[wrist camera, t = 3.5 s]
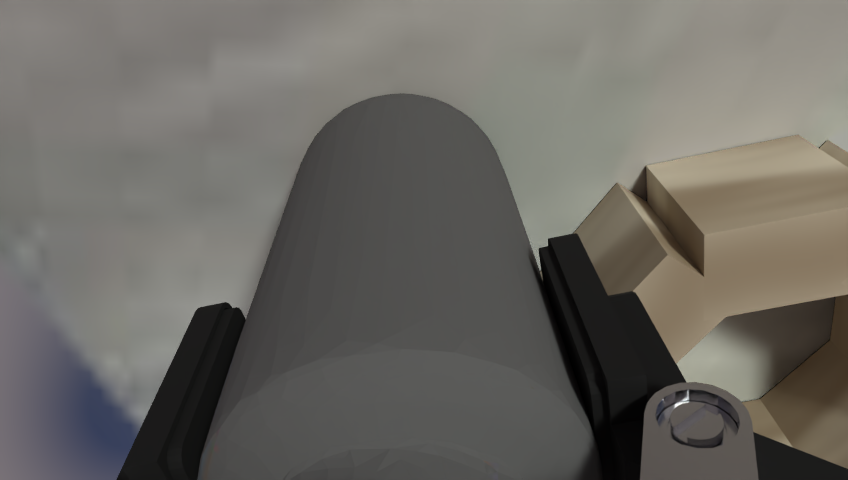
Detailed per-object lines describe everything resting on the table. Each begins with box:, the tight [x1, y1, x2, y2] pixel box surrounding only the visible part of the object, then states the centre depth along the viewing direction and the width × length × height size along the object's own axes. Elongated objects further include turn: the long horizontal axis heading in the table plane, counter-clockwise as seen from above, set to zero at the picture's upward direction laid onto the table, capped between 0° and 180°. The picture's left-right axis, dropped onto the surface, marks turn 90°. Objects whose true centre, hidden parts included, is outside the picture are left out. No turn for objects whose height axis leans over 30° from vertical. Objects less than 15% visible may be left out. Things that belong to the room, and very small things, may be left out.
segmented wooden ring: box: [540, 135, 848, 469], centre depth 19 cm, size 12×12×4 cm
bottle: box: [197, 94, 603, 480], centre depth 12 cm, size 6×6×15 cm
